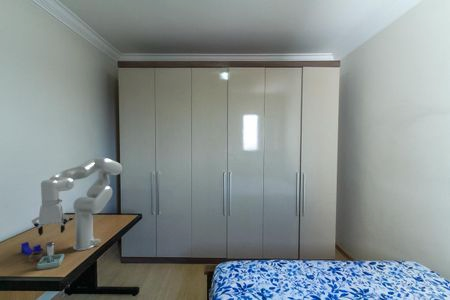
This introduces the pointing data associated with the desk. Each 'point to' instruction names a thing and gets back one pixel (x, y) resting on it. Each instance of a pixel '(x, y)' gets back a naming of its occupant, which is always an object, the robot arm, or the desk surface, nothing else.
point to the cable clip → (27, 250)
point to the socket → (36, 256)
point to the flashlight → (50, 252)
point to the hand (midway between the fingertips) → (51, 233)
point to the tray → (45, 265)
